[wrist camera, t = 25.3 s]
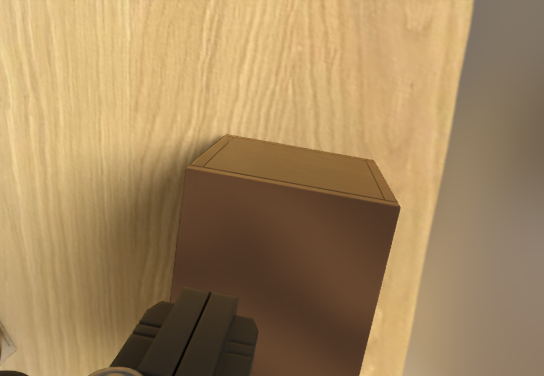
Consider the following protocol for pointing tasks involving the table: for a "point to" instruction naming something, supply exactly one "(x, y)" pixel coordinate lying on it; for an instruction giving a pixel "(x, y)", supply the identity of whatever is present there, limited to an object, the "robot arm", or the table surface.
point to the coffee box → (5, 345)
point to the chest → (297, 166)
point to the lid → (287, 265)
